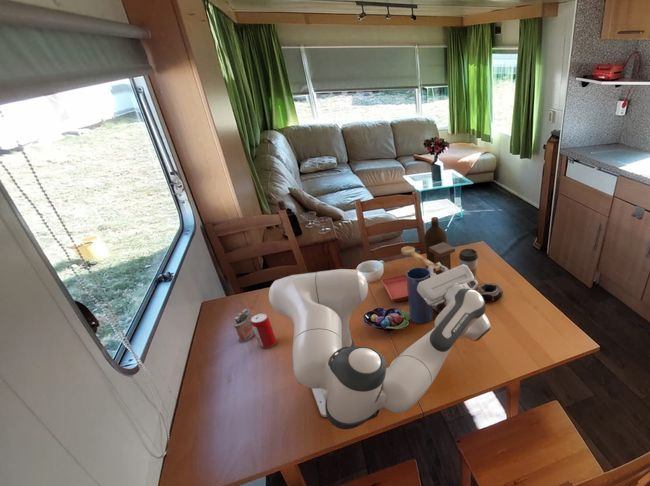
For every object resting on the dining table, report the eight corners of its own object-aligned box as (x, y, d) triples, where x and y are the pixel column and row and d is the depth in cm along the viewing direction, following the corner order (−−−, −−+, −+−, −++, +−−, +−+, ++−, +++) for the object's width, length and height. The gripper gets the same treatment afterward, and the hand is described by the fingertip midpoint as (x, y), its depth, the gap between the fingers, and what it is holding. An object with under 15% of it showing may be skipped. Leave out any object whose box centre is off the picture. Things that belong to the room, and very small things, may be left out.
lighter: (245, 342, 138) (236, 320, 133) (237, 341, 139) (228, 319, 133) (260, 329, 145) (252, 307, 139) (252, 327, 145) (244, 306, 140)
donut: (472, 301, 160) (472, 293, 158) (478, 287, 170) (478, 279, 168) (500, 305, 158) (500, 297, 156) (504, 290, 167) (504, 282, 165)
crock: (435, 320, 149) (433, 276, 138) (413, 325, 146) (409, 281, 136) (429, 308, 156) (426, 265, 145) (407, 312, 153) (403, 269, 143)
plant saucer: (381, 285, 171) (380, 278, 169) (419, 276, 178) (419, 270, 176) (392, 306, 157) (391, 299, 156) (433, 295, 164) (432, 289, 162)
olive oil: (446, 272, 181) (444, 223, 168) (424, 271, 182) (421, 222, 168) (449, 261, 190) (447, 214, 177) (428, 260, 191) (425, 213, 177)
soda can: (280, 340, 139) (270, 313, 133) (269, 350, 135) (259, 323, 128) (267, 337, 140) (257, 311, 134) (256, 347, 136) (246, 320, 129)
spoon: (443, 268, 130) (443, 265, 130) (432, 273, 128) (431, 269, 127) (409, 247, 144) (409, 245, 143) (398, 251, 141) (398, 248, 140)
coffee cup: (480, 280, 175) (481, 251, 167) (471, 288, 169) (471, 258, 161) (465, 275, 178) (465, 246, 170) (455, 283, 172) (455, 253, 164)
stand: (458, 309, 155) (457, 248, 140) (442, 317, 151) (439, 254, 136) (445, 301, 160) (443, 241, 145) (430, 308, 156) (426, 247, 141)
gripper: (428, 313, 123) (405, 280, 127) (475, 290, 134) (453, 261, 138) (433, 303, 118) (409, 269, 122) (481, 280, 129) (458, 250, 133)
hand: (433, 264), depth 130 cm, fingers closed on spoon
